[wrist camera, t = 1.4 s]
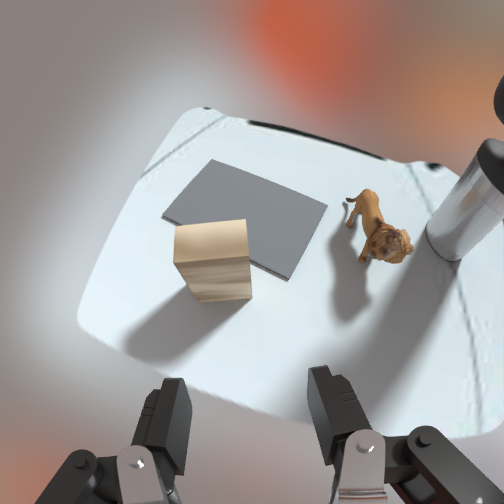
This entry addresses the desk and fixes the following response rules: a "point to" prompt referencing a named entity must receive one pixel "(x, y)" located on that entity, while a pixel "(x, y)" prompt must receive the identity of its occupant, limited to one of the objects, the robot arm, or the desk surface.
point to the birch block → (214, 260)
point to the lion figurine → (379, 231)
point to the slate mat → (252, 213)
